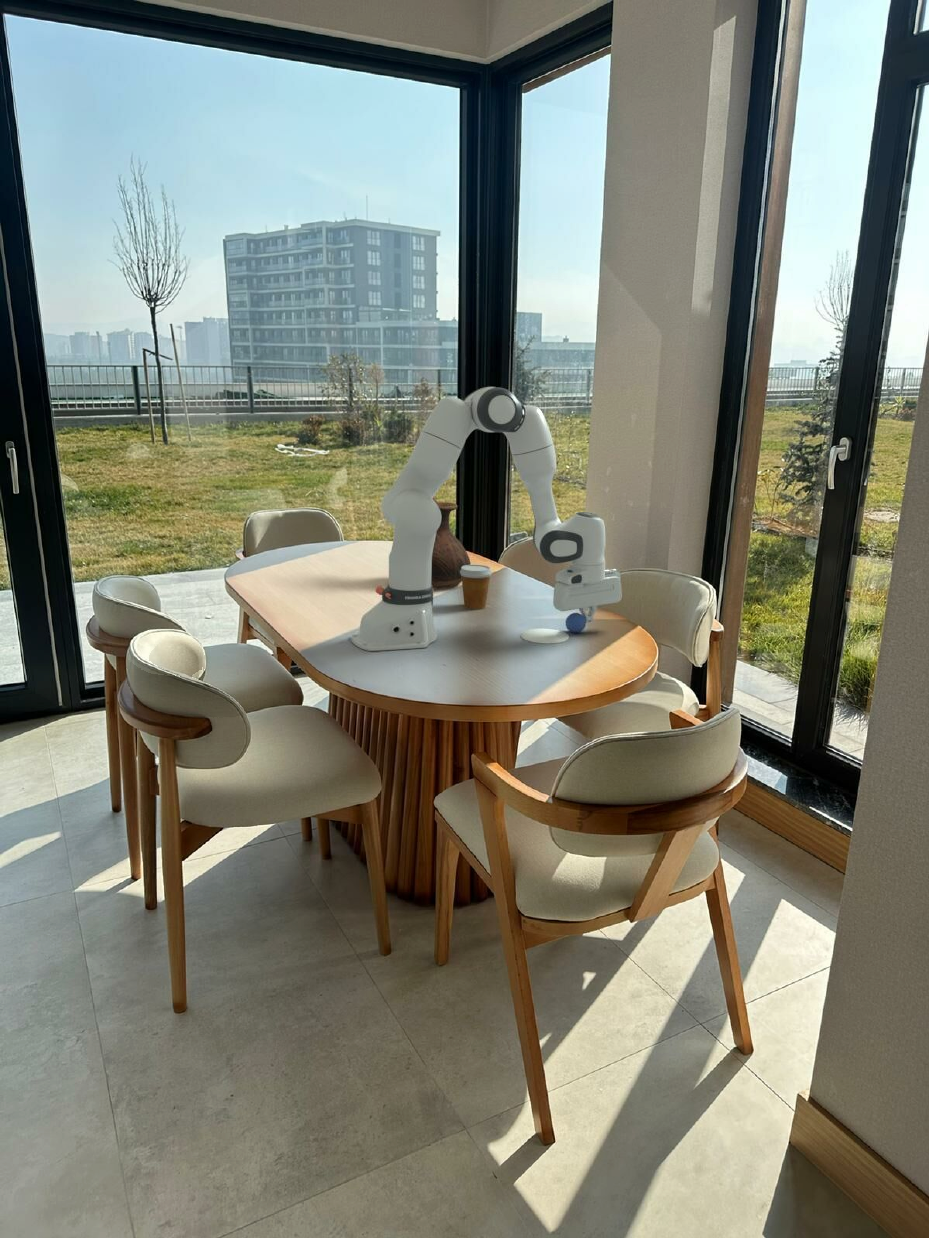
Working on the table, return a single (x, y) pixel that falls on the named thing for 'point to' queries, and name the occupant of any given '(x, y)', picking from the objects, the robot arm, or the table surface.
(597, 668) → the table surface
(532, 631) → the disc
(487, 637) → the table surface
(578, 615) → the ball
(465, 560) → the jug
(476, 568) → the disposable coffee cup
